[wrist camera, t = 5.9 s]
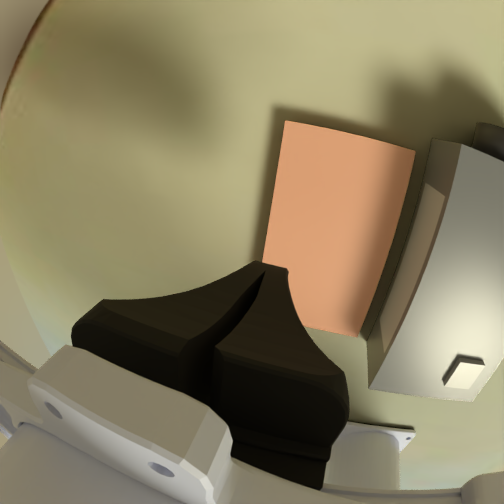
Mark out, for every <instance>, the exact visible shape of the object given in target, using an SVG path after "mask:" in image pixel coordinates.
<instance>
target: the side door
mask: <svg viewBox="0 0 504 504" xmlns="http://www.w3.org/2000/svg"><path fill="white" fill-rule="evenodd" d="M415 153H416V151H413V150H410V149H407V148H404V147H400V146H397V145H393V144H390V143H386V142H383V141H379V140H375V139H371V138H367V137H363V136H359V135H355V134H351V133H347V132H342V131H338V130H333V129H329V128H324V127H319V126H314V125H309V124H303V123H298V122H292V121H286V120H285V125H284V131H283V138H282V144H281V150H280V157H279V163H278V169H277V175H276V181H275V188H274V194H273V200H272V206H271V212H270V218H269V224H268V230H267V236H266V242H265V248H264V254H263V260H262V262H263V263H267V264H271V265H275V266H279V267H283V268H287V269H288V271H289V274H288V282H289V289H290V293H291V297H292V300H293V303H294V306H295V309H296V312H297V314H298V316H299V319H300V321H301V323H302V324H303V326H306V327H310V328H315V329H319V330H324V331H329V332H333V333H338V334H343V335H348V336H353V337H358V334H359V332H360V329H361V327H362V324H363V322H364V320H365V317H366V314H367V312H368V309H369V307H370V304H371V302H372V299H373V296H374V294H375V291H376V288H377V285H378V283H379V280H380V277H381V274H382V271H383V268H384V265H385V262H386V259H387V256H388V253H389V250H390V247H391V244H392V241H393V237H394V234H395V231H396V227H397V224H398V221H399V217H400V214H401V210H402V206H403V203H404V199H405V195H406V191H407V187H408V183H409V179H410V175H411V171H412V166H413V162H414V157H415Z"/></svg>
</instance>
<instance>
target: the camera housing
mask: <svg viewBox="0 0 504 504" xmlns="http://www.w3.org/2000/svg"><path fill="white" fill-rule="evenodd" d="M503 358H504V128H502V127H499V126H495V125H492V124H487V123H476V129H475V135H474V140H473V146H472V148H471V147H468V146H466V145H463V144H460V143H455V142H450V141H444V140H439V139H433V138H432V141H431V146H430V151H429V156H428V160H427V165H426V169H425V173H424V178H423V182H422V186H421V190H420V193H419V197H418V201H417V204H416V208H415V212H414V215H413V219H412V222H411V225H410V229H409V232H408V235H407V238H406V241H405V244H404V247H403V250H402V253H401V256H400V259H399V262H398V265H397V268H396V271H395V274H394V276H393V279H392V282H391V284H390V287H389V290H388V292H387V295H386V297H385V300H384V303H383V305H382V308H381V310H380V312H379V315H378V317H377V320H376V322H375V324H374V327H373V329H372V331H371V334H370V336H369V338H368V340H367V359H368V389H372V390H378V391H384V392H390V393H397V394H404V395H411V396H419V397H427V398H436V399H446V400H457V401H469V402H472V401H473V400H474V399H475V397H476V396H477V395H478V393H479V392H480V391H481V389H482V388H483V387H484V385H485V384H486V383H487V381H488V380H489V379H490V377H491V376H492V374H493V373H494V371H495V370H496V369H497V367H498V366H499V364H500V363H501V361H502V360H503Z"/></svg>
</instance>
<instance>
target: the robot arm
mask: <svg viewBox="0 0 504 504" xmlns="http://www.w3.org/2000/svg"><path fill="white" fill-rule="evenodd" d="M288 274H289V271H288V269H287V268H283V267H279V266H275V265H271V264H267V263H263V262H259V261H254V262H252V263H250V264H248V265H246V266H244V267H243V268H241V269H239V270H237V271H235V272H233V273H232V274H230V275H228V276H226V277H223V278H221V279H219V280H217V281H214V282H212V283H210V284H207V285H205V286H202V287H199V288H196V289H193V290H189V291H186V292H182V293H177V294H172V295H167V296H162V297H155V298H146V299H132V300H108V299H103V300H102V301H100V302H99V303H98V304H97V305H95V306H94V307H93V308H92V309H91V310H90V311H88V312H87V313H86V314H85V315H84V316H83V317H81V318H80V319H79V320H78V321H77V322H76V323H75V324H74V326H73V327H72V332H71V339H72V345H73V346H69V345H65V346H63V347H62V348H61V349H60V350H58V351H57V352H56V353H55V354H54V355H53V356H52V357H51V358H50V359H49V360H48V361H47V362H46V363H45V364H44V365H43V366H41V367H40V368H39V369H37V368H36V367H34V366H33V365H31V364H30V363H28V362H27V361H26V360H25V359H23V358H22V357H21V356H19V355H18V354H17V353H15V352H14V351H13V350H11V349H10V348H9V347H8V346H6V345H5V344H4V343H2V342H1V341H0V432H1V433H3V435H4V436H5V437H6V438H7V439H8V441H7V442H6V443H5V444H4V446H3V447H2V448H1V449H0V504H504V471H503V472H496V473H487V474H482V475H478V476H476V477H474V478H472V479H471V480H469V481H468V482H467V483H465V484H464V485H463V486H462V487H461V488H453V489H435V490H400V452H401V451H402V450H403V449H404V448H405V447H406V445H407V444H408V443H409V442H410V441H411V440H412V439H413V438H414V437H415V435H416V431H415V430H408V429H398V428H389V427H381V426H374V425H367V424H360V423H353V422H347V421H348V418H349V395H348V388H347V383H346V378H345V374H344V372H343V371H342V370H341V369H340V368H339V367H338V366H337V365H335V364H334V363H333V362H332V361H331V360H330V359H329V358H328V357H327V356H326V355H325V354H324V353H323V352H322V351H321V350H320V349H319V348H318V347H317V346H316V344H315V343H314V342H313V340H312V339H311V337H310V336H309V335H308V333H307V331H306V330H305V328H304V326H303V324H302V323H301V321H300V319H299V316H298V314H297V312H296V309H295V306H294V303H293V300H292V297H291V293H290V289H289V282H288Z"/></svg>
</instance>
